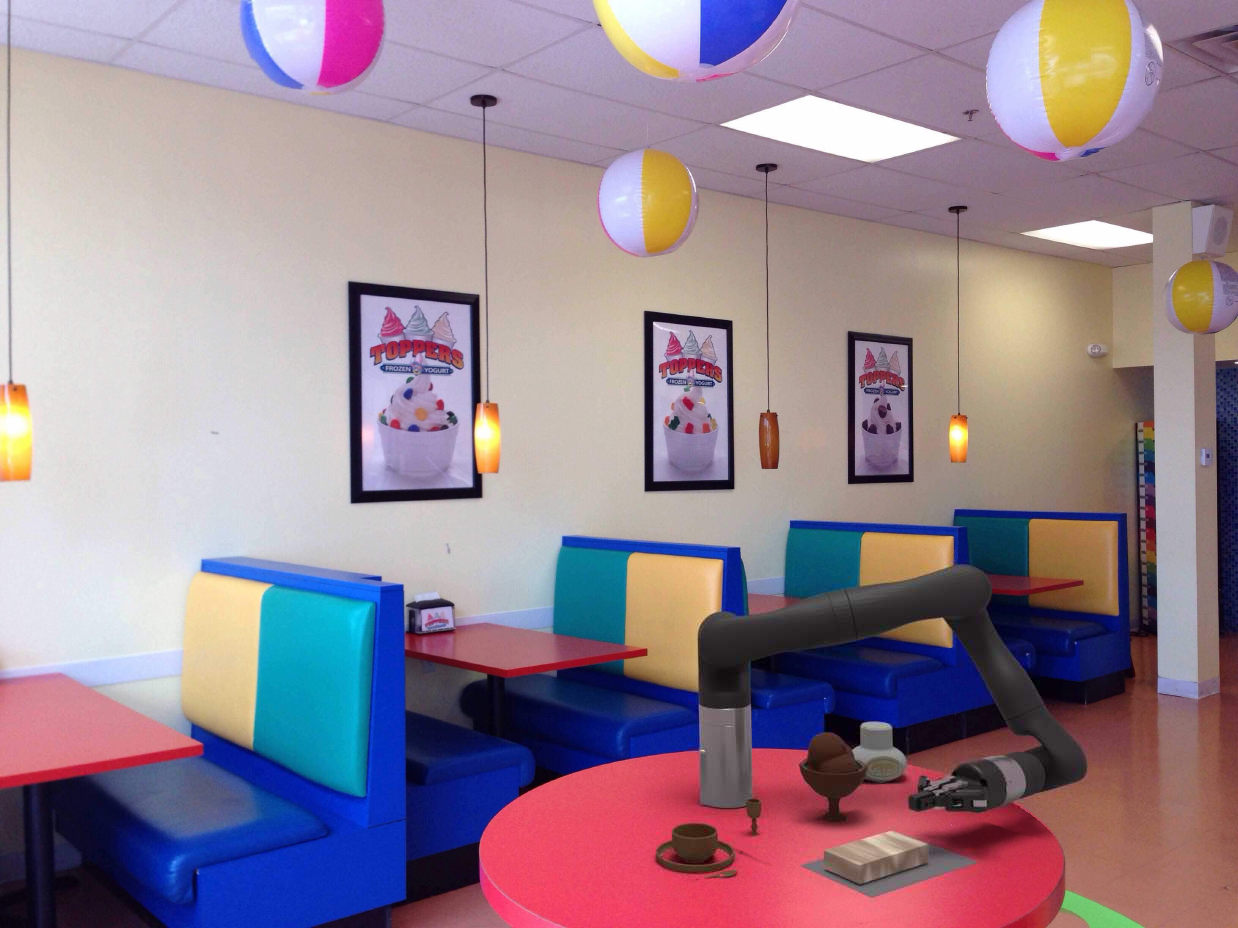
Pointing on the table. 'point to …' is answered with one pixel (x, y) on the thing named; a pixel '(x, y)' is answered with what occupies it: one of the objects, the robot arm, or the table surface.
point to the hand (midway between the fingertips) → (912, 803)
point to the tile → (876, 857)
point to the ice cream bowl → (832, 772)
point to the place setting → (703, 844)
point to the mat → (937, 865)
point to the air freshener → (879, 752)
